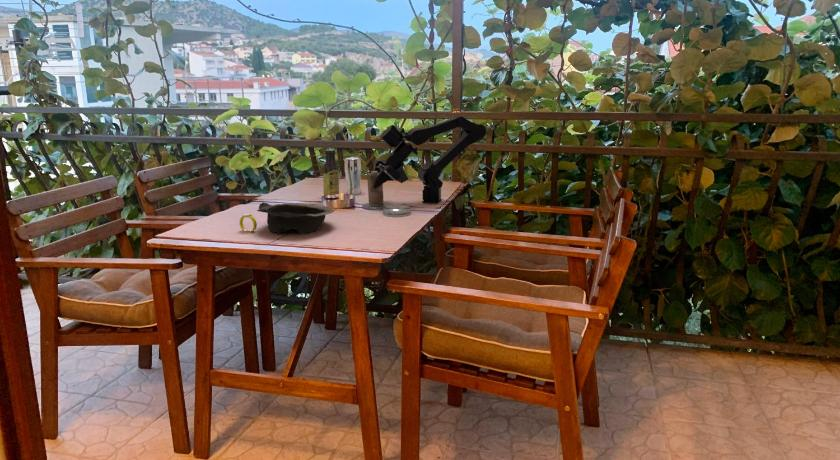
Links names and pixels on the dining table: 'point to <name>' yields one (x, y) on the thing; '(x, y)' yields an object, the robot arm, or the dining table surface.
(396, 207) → the round metal lid
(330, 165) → the sauce bottle
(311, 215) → the stone bowl
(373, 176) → the pepper mill
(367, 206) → the coaster
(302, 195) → the dining table surface
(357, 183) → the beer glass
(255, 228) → the watch
